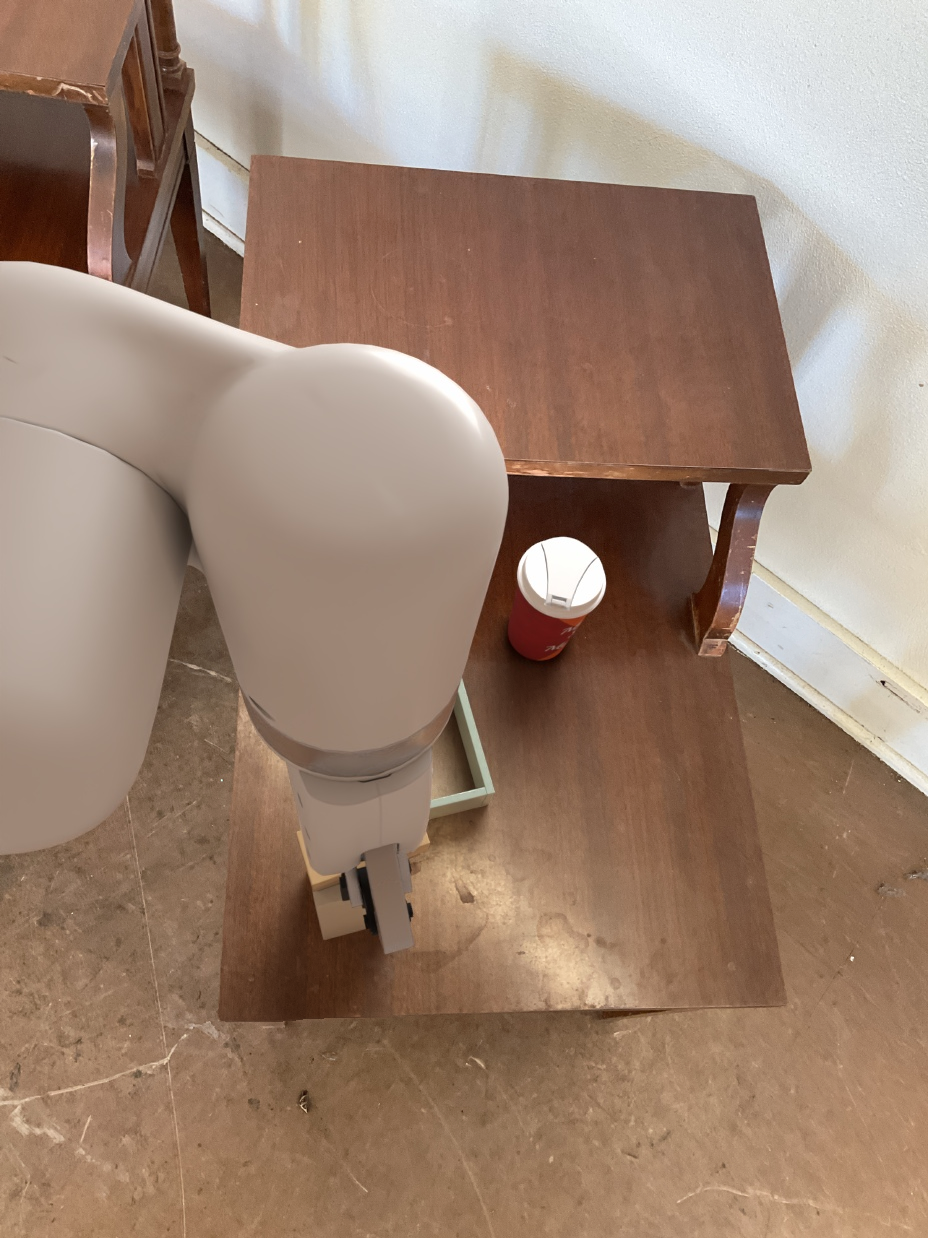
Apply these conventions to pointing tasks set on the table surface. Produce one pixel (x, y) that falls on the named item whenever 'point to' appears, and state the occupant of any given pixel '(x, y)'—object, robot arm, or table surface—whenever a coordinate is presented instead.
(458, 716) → the divided tray
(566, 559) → the paper cup
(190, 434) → the robot arm
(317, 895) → the block
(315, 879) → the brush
